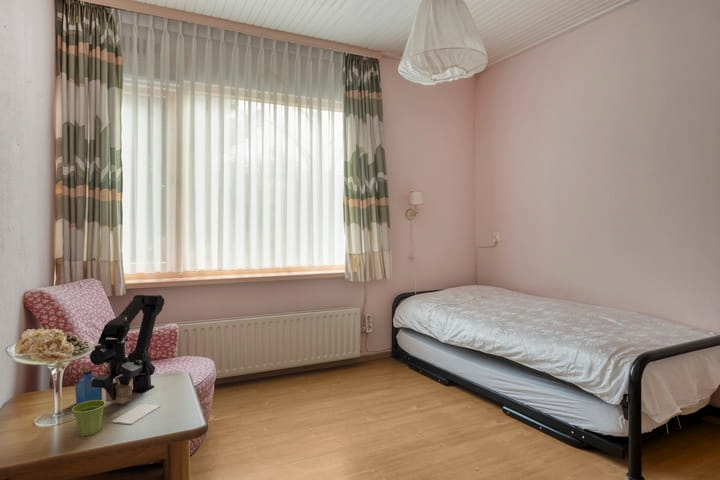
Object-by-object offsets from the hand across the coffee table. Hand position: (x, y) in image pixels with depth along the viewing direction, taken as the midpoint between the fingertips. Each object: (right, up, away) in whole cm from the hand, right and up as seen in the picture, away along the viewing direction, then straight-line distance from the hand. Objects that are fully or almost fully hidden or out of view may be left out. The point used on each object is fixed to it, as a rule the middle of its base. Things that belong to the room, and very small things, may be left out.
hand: (119, 397), depth 164 cm
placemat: (+11, -3, -9) cm, 15 cm away
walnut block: (0, -1, 0) cm, 1 cm away
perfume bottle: (-13, -3, +4) cm, 14 cm away
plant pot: (+2, -4, -21) cm, 21 cm away
